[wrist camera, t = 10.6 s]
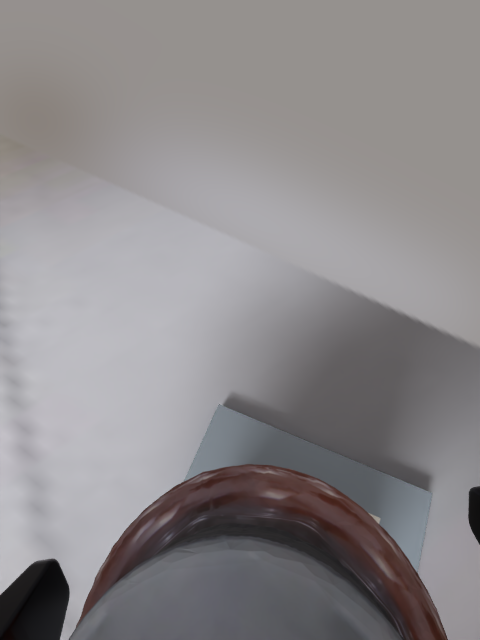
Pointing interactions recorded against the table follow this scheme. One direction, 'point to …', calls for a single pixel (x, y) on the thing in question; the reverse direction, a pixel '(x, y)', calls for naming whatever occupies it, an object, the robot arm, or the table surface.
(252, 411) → the table surface
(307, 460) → the two-pip tile
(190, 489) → the supplement bottle
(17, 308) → the table surface
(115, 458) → the table surface
